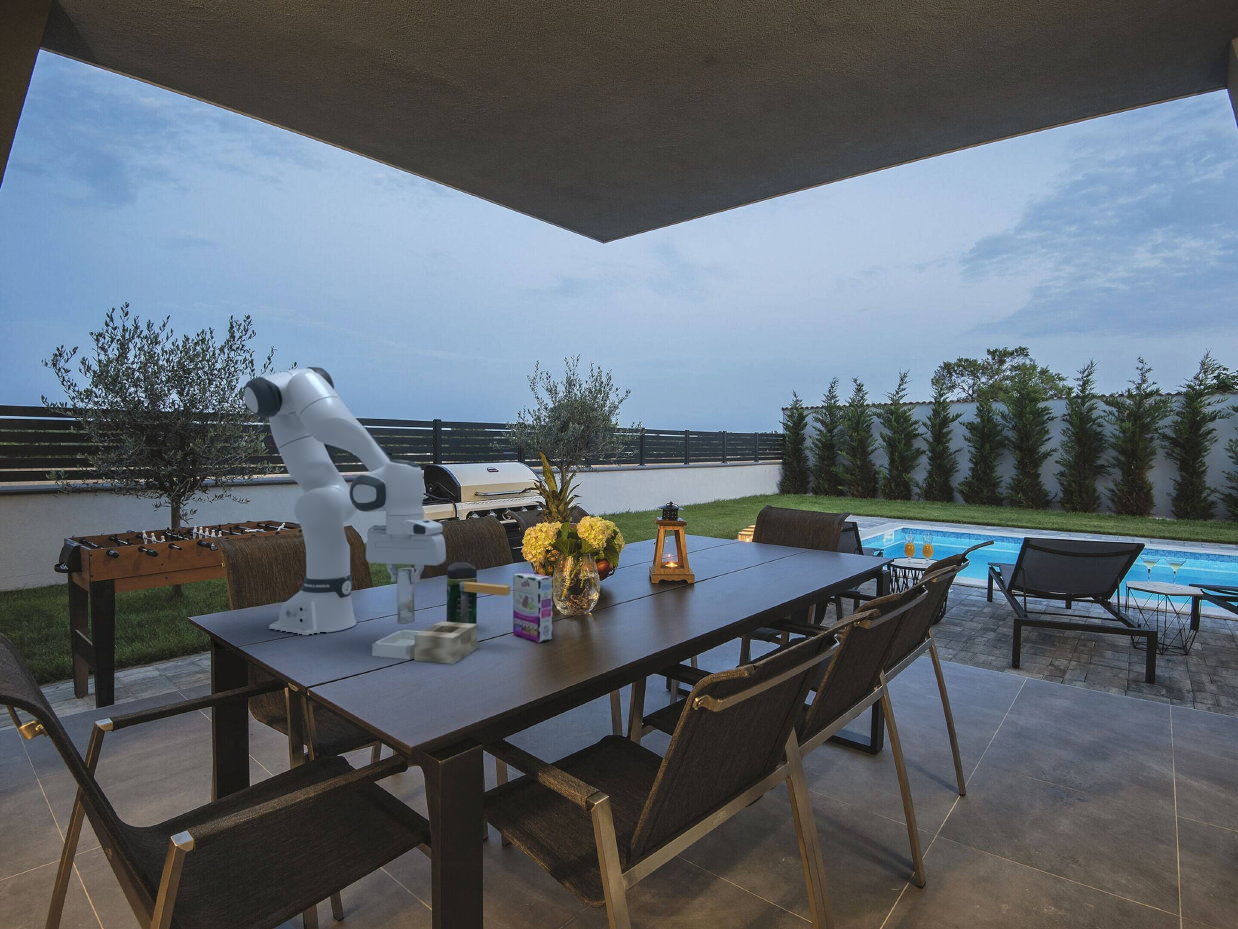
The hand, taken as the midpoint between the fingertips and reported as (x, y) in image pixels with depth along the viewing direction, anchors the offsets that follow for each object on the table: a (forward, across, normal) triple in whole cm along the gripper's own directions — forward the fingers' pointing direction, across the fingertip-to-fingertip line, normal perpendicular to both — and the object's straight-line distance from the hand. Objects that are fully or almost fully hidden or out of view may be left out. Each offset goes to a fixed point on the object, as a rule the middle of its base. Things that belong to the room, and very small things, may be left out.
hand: (405, 582), depth 150 cm
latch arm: (+3, +17, +8) cm, 19 cm away
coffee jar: (+17, +5, +18) cm, 26 cm away
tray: (+17, 0, 0) cm, 17 cm away
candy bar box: (+17, +26, +18) cm, 36 cm away
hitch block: (+17, +11, +2) cm, 20 cm away
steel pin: (+10, 0, 0) cm, 10 cm away
